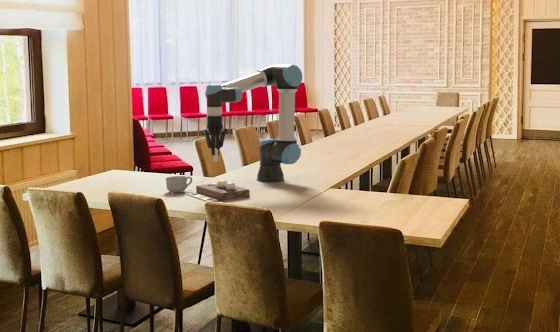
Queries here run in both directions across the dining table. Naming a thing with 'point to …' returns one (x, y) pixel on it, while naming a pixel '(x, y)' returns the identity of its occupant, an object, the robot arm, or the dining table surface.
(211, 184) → the button
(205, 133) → the robot arm
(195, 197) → the card
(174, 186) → the teacup
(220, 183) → the button
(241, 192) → the board
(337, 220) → the dining table surface
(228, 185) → the button
